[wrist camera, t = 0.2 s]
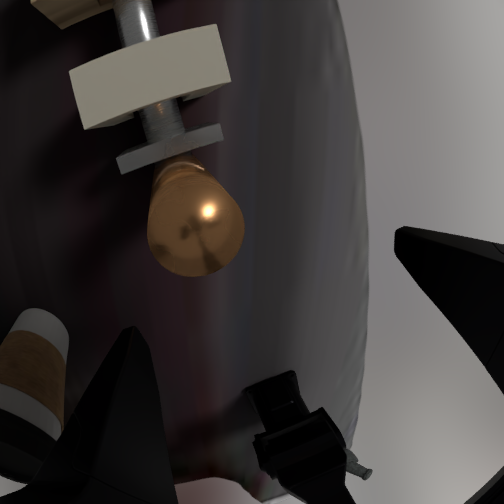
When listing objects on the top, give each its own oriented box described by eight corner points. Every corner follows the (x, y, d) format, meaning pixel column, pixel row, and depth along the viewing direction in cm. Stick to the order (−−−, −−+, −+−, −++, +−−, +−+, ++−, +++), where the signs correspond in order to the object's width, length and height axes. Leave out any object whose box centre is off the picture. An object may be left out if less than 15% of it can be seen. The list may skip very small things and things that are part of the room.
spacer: (204, 95, 19) (231, 81, 11) (113, 125, 18) (84, 129, 10) (195, 58, 17) (216, 23, 10) (103, 88, 16) (68, 71, 9)
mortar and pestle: (305, 462, 53) (325, 502, 42) (299, 450, 48) (323, 497, 38) (349, 440, 54) (373, 479, 44) (350, 426, 50) (377, 469, 39)
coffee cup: (-7, 310, 20) (-59, 433, 7) (50, 284, 21) (-5, 432, 8) (39, 369, 24) (19, 489, 11) (96, 351, 25) (89, 492, 12)
